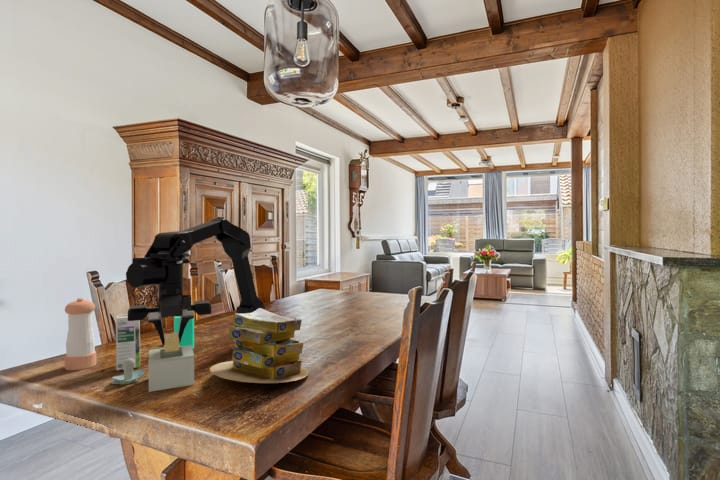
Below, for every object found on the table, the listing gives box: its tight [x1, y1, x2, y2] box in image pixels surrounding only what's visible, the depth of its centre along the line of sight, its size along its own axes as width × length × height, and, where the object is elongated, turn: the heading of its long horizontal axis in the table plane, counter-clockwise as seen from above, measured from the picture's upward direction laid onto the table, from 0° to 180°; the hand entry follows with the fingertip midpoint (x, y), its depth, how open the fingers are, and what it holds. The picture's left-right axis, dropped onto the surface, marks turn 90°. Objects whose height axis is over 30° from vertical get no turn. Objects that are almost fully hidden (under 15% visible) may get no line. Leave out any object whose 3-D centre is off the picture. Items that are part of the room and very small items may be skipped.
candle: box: [173, 316, 195, 350], centre depth 130 cm, size 6×6×12 cm
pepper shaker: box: [64, 297, 97, 371], centre depth 112 cm, size 7×7×19 cm
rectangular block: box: [163, 332, 179, 352], centre depth 101 cm, size 3×6×3 cm, turn 28°
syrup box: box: [115, 313, 141, 371], centre depth 112 cm, size 6×6×14 cm
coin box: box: [147, 345, 195, 393], centre depth 101 cm, size 10×10×7 cm
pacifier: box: [110, 358, 145, 386], centre depth 101 cm, size 7×6×6 cm
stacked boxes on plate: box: [209, 308, 309, 384], centre depth 104 cm, size 25×25×17 cm
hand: (171, 343), depth 101 cm, fingers closed on rectangular block, 3 cm apart
